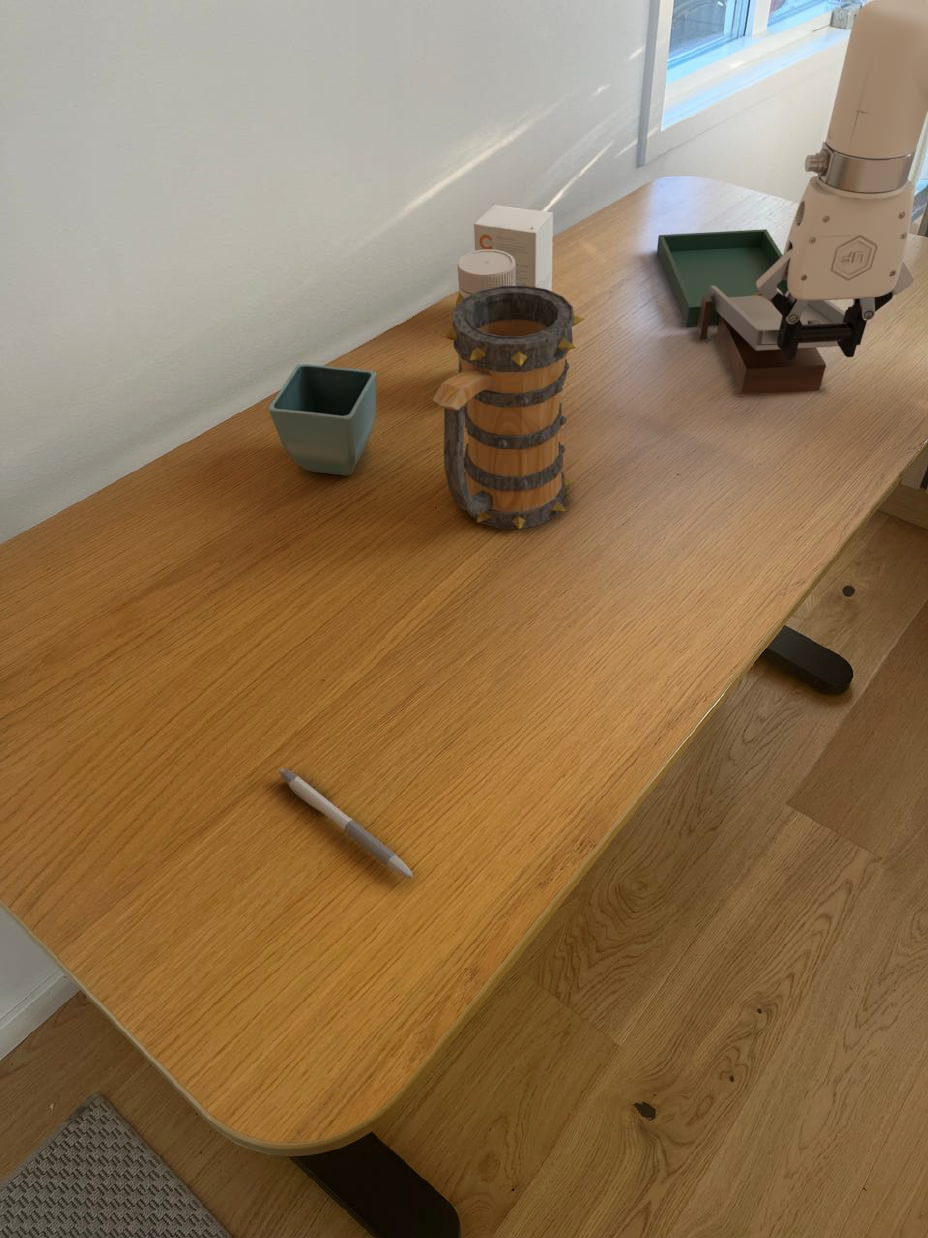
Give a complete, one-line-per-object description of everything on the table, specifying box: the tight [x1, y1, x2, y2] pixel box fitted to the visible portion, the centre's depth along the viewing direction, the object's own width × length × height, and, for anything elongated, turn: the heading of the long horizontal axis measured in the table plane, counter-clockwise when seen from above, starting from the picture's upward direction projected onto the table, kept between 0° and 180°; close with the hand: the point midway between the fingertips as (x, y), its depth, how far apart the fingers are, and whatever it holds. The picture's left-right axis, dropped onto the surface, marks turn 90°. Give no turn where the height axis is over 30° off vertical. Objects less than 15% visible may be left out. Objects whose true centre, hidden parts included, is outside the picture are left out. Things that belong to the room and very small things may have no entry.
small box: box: [473, 204, 554, 291], centre depth 114 cm, size 8×6×13 cm
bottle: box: [455, 249, 515, 365], centre depth 102 cm, size 7×7×15 cm
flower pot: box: [268, 363, 377, 477], centre depth 95 cm, size 9×9×9 cm
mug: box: [432, 285, 586, 530], centre depth 85 cm, size 13×17×20 cm
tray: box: [656, 228, 788, 328], centre depth 122 cm, size 21×15×3 cm
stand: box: [696, 294, 827, 394], centre depth 108 cm, size 14×13×5 cm
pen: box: [278, 767, 414, 879], centre depth 66 cm, size 1×14×1 cm, turn 48°
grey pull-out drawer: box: [709, 286, 862, 351], centre depth 101 cm, size 24×11×3 cm, turn 2°
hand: (816, 350), depth 94 cm, fingers closed on grey pull-out drawer, 5 cm apart
